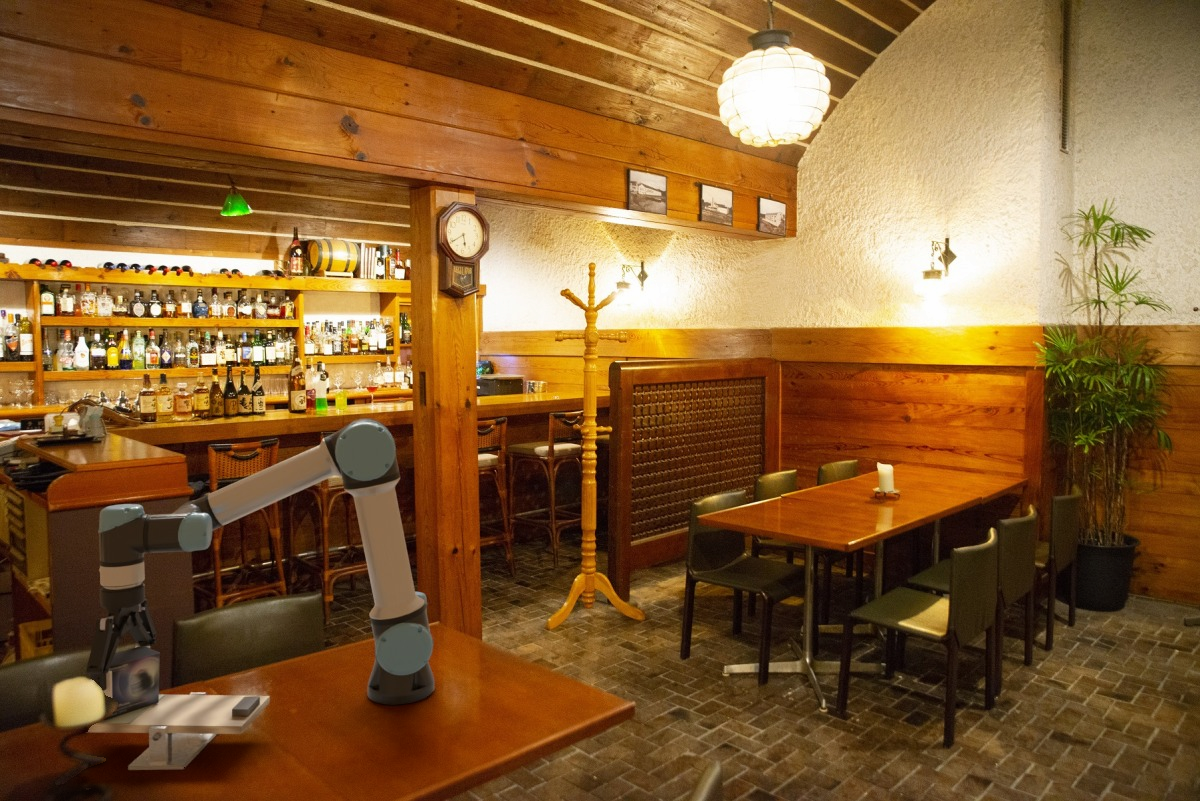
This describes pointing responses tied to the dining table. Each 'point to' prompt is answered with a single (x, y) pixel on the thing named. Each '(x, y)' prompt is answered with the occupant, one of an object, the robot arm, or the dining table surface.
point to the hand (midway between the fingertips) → (124, 691)
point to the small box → (134, 679)
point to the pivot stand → (170, 748)
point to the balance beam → (190, 715)
